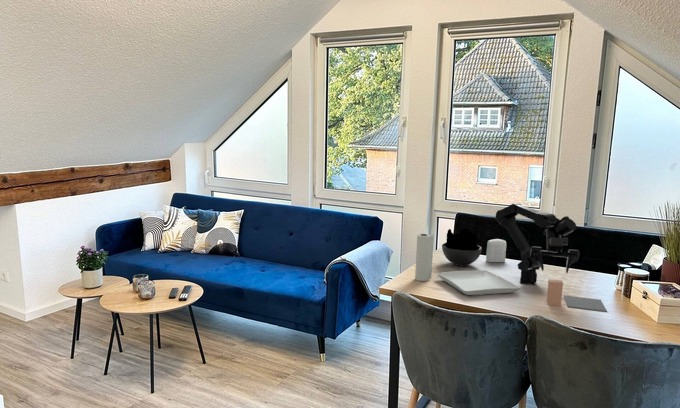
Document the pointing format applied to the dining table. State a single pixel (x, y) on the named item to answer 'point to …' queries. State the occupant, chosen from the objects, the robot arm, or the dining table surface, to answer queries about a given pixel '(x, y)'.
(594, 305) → the rubber mat
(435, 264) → the dining table surface
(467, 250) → the coal bowl
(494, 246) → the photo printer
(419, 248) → the paper towel roll
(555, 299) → the terracotta block
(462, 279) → the square plate
